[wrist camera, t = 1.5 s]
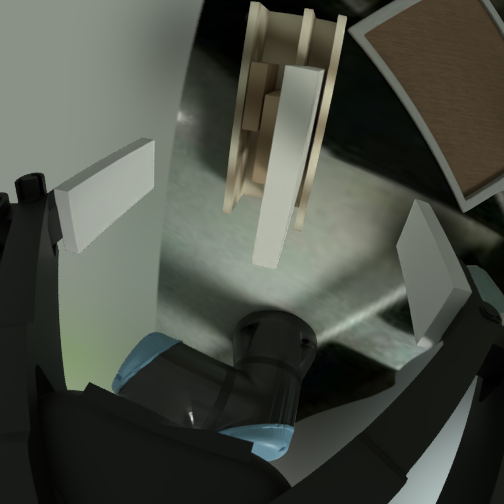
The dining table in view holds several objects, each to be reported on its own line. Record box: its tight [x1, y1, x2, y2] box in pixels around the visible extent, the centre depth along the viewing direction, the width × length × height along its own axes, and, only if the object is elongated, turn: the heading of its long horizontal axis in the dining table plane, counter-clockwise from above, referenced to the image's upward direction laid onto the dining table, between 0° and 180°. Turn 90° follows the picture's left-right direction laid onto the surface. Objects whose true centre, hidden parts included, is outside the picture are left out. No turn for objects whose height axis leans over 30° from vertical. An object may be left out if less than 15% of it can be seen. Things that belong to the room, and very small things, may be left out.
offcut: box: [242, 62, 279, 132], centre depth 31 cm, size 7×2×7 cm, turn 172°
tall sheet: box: [252, 65, 325, 270], centre depth 26 cm, size 12×2×22 cm, turn 172°
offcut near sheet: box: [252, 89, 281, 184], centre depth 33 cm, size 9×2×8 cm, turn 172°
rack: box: [223, 2, 347, 232], centre depth 33 cm, size 24×9×7 cm, turn 172°
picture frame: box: [348, 0, 504, 213], centre depth 28 cm, size 19×2×30 cm
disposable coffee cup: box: [467, 265, 504, 326], centre depth 36 cm, size 11×11×15 cm
